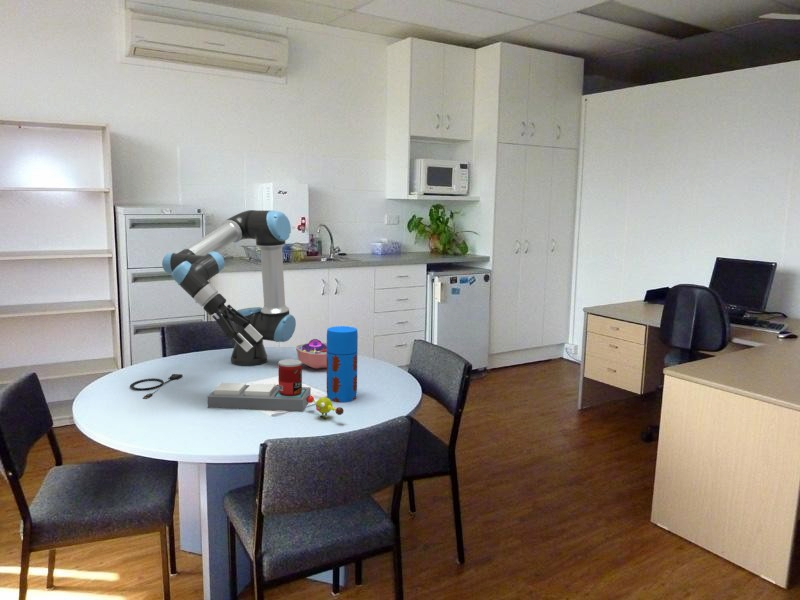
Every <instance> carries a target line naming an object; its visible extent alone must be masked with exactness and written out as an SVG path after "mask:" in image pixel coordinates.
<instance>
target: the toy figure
mask: <svg viewBox="0 0 800 600" xmlns="http://www.w3.org/2000/svg"><path fill="white" fill-rule="evenodd" d="M306 400H307V402H308V404H309V403H310V404H311V403H314V404H315V407H316V408H315V410H316V411H318V412H319V413H320V414H321V415H320V416H319V417H320V418H322V419H328V413H329V412H330V411H333V412H334V411H335V413H336V415H337V416H341V415H342V414H344V409H343V407H340V406H339V407H334V406H333V401H331V400H330V399H329V398H327V396H322V397H320V398H318V399H315V397H314V395H313V396H312V395H311V396H308V397H307V398H306Z"/></svg>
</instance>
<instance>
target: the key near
mask: <svg viewBox="0 0 800 600" xmlns="http://www.w3.org/2000/svg"><path fill="white" fill-rule="evenodd" d="M246 385H247V382H246V383H245V382H221V383H220V384H218V385H217V386H216V388H214V389H213V391H214V394H215V395H240V394H241V393H242V392H243V391H244V390H245V389H246Z"/></svg>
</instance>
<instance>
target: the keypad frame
mask: <svg viewBox="0 0 800 600" xmlns="http://www.w3.org/2000/svg"><path fill="white" fill-rule="evenodd" d="M250 385H251V384H246V389H247V388H248V387H249V386H250ZM246 389H245V390H246ZM245 390H244V391H243V392H242V393H241V394H240V395H215V394H214V390H213V391H212V392H211V393H210V394H209V395H207V396H206V397H207V402H206V403H207V409H223V410H224V409H226V410H228V409H229V410H251V411H253V410H255V411H276V410H286V411H285V412H304V410H305V409H306V407H307V405H308V404H309V402H307V400H306V398H307V397H308V396H312V394H311V390H312V389H311V387H308V386H302V390H305V392H304V394H303V396H302V397H301V398H298V397H275V396H276V395H277V394H278V392H279V385H277V386H276V390H275V391H274V392H273V394H272V395H271V396H245Z"/></svg>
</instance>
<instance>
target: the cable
mask: <svg viewBox="0 0 800 600" xmlns="http://www.w3.org/2000/svg"><path fill="white" fill-rule="evenodd" d="M182 378H183V374H180V373H179V374H178V373H173V374H171V376H169V377H168V378H167V380H166V381H164V380H163V379H160V378H153V377H152V378H144V379H140V380H137V381H134V382H133V383H130V384H129V388H130V389H132V390H133V391H137V392H140V391H142V392H143V391H151V390H155V391H154V392H152V393H147V394H146V395H144V396H143V397H142V399H144V400H148V399H150V398H151V397H153V396H154V394H155V393H157V392H158V391H159V390H160V388H161V387H162V386H163V385H165V384H167V383H170V382H171V381H178V380H180V379H182ZM146 382H147V383H148V382H158V383H160V384H158V385H155V386H151V387H135V386H136V385H138V384H142V383H146ZM156 389H157V390H156Z"/></svg>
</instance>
